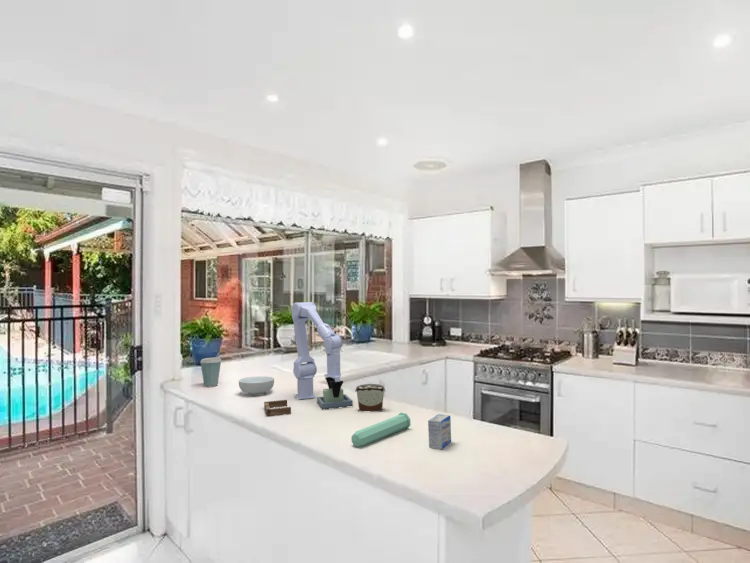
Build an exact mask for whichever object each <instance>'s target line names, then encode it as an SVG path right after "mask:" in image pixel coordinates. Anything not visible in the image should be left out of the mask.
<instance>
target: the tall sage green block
mask: <svg viewBox="0 0 750 563" xmlns="http://www.w3.org/2000/svg"><path fill="white" fill-rule="evenodd" d="M322 397H323V402H324V403H328V402H338V401H344V389H343V388H342V387H341V389H340V394H339V397H337V398H334V396H333V391H332V388H330V389H329V388H323V389H322Z"/></svg>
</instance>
